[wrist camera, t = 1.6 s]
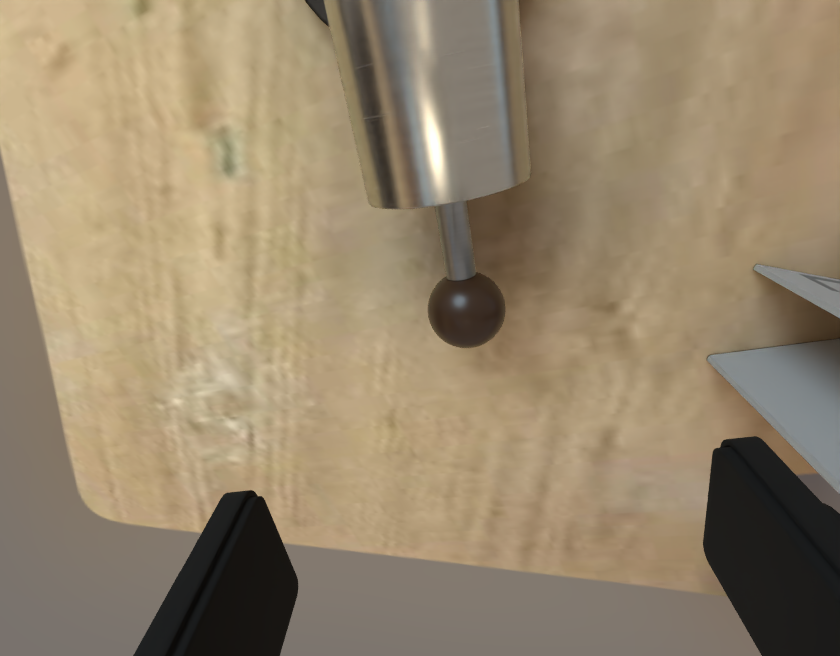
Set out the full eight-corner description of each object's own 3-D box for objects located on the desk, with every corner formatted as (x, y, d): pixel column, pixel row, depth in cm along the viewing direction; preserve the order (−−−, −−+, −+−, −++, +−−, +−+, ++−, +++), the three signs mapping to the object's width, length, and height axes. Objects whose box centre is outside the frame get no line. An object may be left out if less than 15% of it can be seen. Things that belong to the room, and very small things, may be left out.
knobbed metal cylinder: (530, 305, 23) (557, 370, 17) (407, 322, 23) (396, 390, 18) (490, -165, 16) (516, -302, 10) (314, -119, 16) (251, -225, 11)
